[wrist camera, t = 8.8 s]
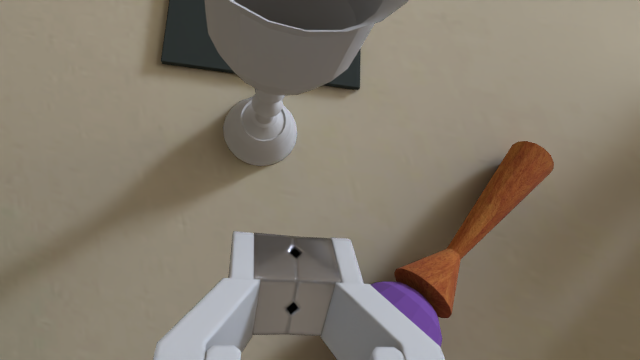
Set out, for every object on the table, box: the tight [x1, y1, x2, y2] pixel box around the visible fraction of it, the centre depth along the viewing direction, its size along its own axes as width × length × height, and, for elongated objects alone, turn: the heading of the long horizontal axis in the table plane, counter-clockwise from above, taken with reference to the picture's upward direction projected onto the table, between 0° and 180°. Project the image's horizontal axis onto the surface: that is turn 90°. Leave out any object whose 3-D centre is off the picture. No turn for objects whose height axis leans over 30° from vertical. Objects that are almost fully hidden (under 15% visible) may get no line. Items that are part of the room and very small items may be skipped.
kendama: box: [371, 141, 554, 348], centre depth 28 cm, size 6×6×20 cm
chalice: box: [205, 0, 408, 166], centre depth 21 cm, size 7×7×18 cm
